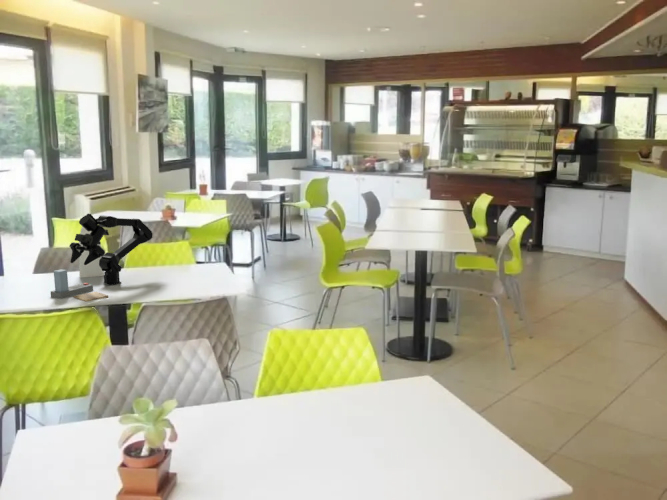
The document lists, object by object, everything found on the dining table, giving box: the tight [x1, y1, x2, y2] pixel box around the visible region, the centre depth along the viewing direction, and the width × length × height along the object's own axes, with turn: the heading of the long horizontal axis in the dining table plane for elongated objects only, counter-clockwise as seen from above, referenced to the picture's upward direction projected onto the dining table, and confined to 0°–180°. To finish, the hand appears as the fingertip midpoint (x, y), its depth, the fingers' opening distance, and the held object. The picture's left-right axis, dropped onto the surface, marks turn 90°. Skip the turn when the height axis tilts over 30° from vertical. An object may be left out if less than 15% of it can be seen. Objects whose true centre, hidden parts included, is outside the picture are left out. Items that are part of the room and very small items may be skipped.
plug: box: [53, 269, 69, 293], centre depth 293 cm, size 4×4×12 cm
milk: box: [78, 226, 105, 279], centre depth 337 cm, size 12×12×26 cm
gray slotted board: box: [50, 282, 94, 300], centre depth 298 cm, size 18×7×4 cm, turn 151°
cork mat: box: [72, 291, 109, 303], centre depth 292 cm, size 11×11×1 cm
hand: (77, 263), depth 300 cm, fingers open, 9 cm apart
